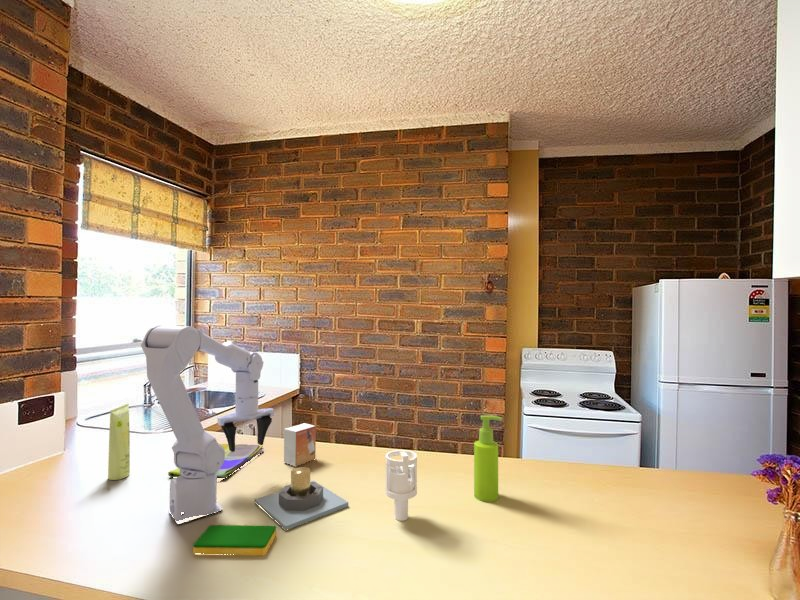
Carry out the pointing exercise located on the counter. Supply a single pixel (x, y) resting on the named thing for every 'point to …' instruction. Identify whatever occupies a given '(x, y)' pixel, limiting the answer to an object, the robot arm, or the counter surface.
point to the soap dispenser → (486, 462)
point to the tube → (119, 443)
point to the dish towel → (231, 459)
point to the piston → (300, 482)
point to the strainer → (401, 481)
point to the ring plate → (301, 515)
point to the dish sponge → (235, 540)
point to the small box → (299, 444)
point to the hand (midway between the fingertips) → (246, 447)
